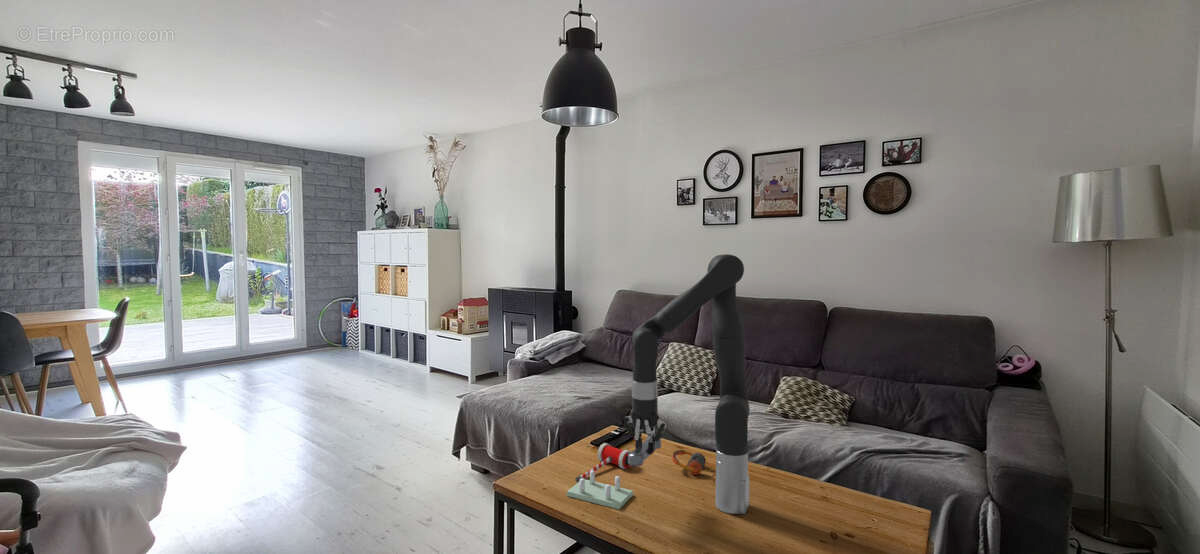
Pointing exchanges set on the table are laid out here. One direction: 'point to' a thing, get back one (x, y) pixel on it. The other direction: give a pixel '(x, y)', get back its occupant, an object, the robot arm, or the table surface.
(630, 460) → the grey ball-ended rod
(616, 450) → the toy hammer
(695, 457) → the headphones
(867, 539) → the table surface
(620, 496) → the tool rack
